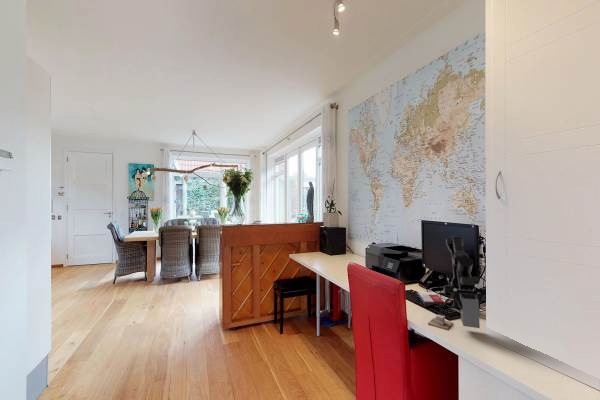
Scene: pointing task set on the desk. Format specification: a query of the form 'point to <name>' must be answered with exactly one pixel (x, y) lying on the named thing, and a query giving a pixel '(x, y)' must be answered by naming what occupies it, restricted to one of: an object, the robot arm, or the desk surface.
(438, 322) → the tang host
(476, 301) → the socket sleeve
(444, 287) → the robot arm
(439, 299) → the calculator
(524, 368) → the desk surface
